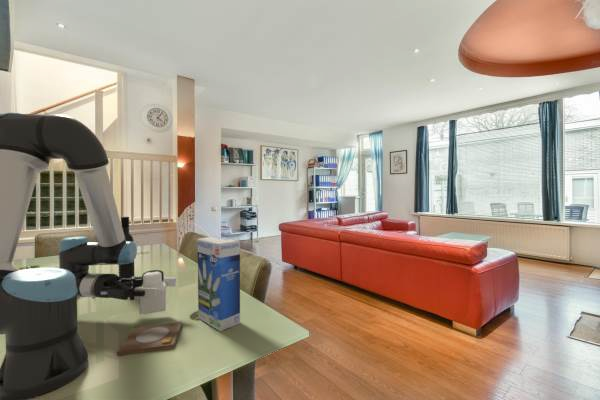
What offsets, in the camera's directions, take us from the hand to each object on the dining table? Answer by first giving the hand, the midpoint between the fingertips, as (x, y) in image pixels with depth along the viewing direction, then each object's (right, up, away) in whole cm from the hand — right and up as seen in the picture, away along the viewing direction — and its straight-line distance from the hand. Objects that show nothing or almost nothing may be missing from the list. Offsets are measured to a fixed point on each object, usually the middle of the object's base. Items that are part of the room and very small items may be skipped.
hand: (166, 287), depth 88 cm
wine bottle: (-33, -10, +33) cm, 47 cm away
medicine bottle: (-4, -7, +1) cm, 8 cm away
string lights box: (+17, -11, -1) cm, 20 cm away
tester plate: (+2, -11, -11) cm, 16 cm away
